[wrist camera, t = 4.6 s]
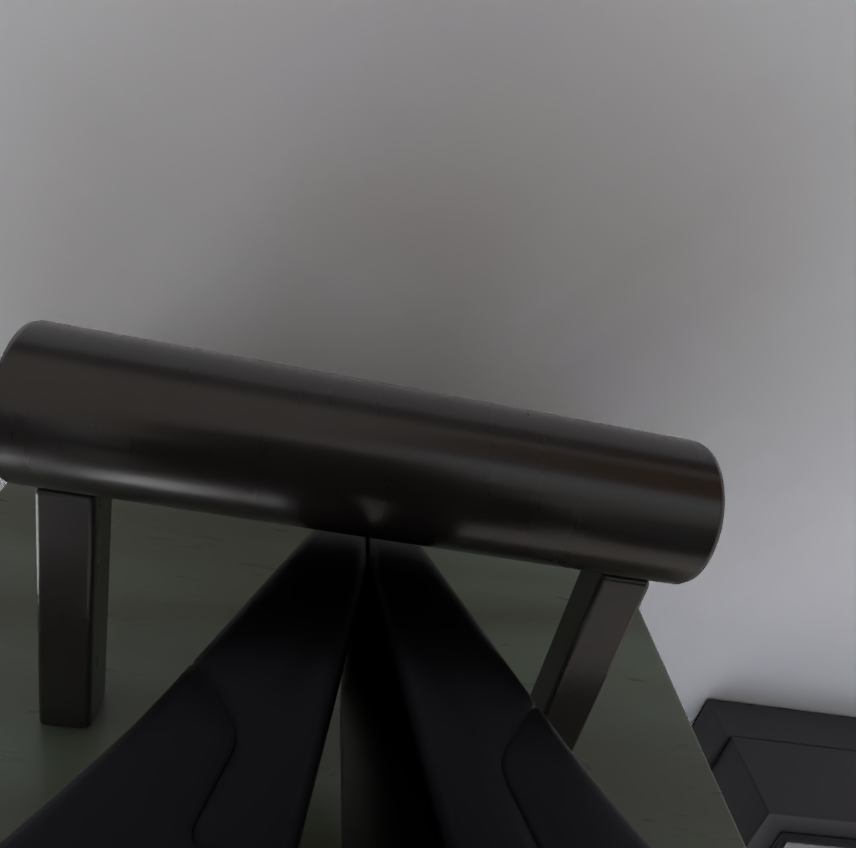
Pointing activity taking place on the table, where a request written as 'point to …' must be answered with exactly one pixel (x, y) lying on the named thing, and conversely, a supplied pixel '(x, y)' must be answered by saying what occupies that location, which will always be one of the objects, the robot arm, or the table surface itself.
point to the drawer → (340, 513)
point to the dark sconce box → (783, 773)
